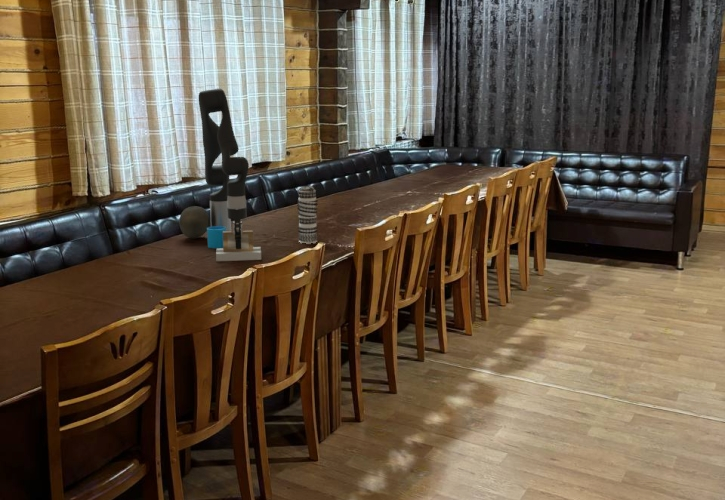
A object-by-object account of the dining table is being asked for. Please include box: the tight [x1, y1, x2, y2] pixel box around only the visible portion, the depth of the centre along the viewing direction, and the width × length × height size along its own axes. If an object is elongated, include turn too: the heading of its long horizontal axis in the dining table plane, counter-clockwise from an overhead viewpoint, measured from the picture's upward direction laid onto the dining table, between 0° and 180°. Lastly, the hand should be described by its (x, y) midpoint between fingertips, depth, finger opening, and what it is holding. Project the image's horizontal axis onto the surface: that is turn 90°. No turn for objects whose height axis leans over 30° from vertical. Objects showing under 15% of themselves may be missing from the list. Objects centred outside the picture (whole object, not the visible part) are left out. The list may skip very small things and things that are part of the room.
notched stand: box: [215, 246, 262, 262], centre depth 277 cm, size 10×18×3 cm, turn 100°
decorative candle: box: [296, 186, 319, 245], centre depth 302 cm, size 9×9×25 cm
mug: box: [206, 226, 226, 249], centre depth 295 cm, size 12×8×8 cm
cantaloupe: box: [178, 205, 211, 240], centre depth 309 cm, size 14×14×15 cm
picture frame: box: [223, 229, 254, 252], centre depth 275 cm, size 3×12×9 cm, turn 100°
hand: (238, 247), depth 276 cm, fingers closed on picture frame, 2 cm apart
